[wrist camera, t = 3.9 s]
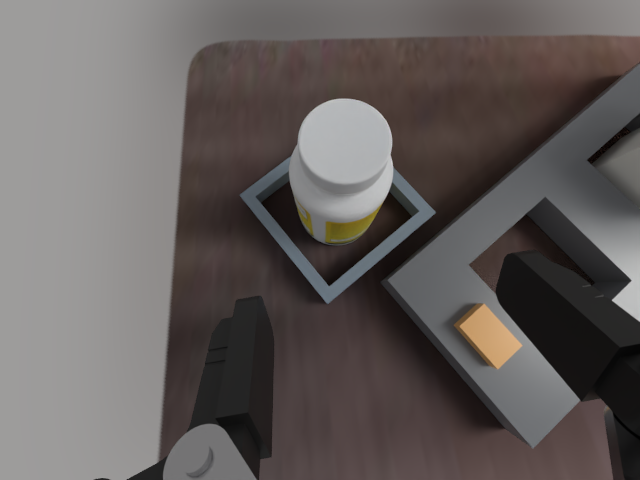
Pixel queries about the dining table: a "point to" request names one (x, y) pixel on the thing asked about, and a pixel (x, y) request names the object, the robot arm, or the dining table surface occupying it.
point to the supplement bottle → (341, 170)
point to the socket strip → (563, 228)
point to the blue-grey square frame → (328, 293)
